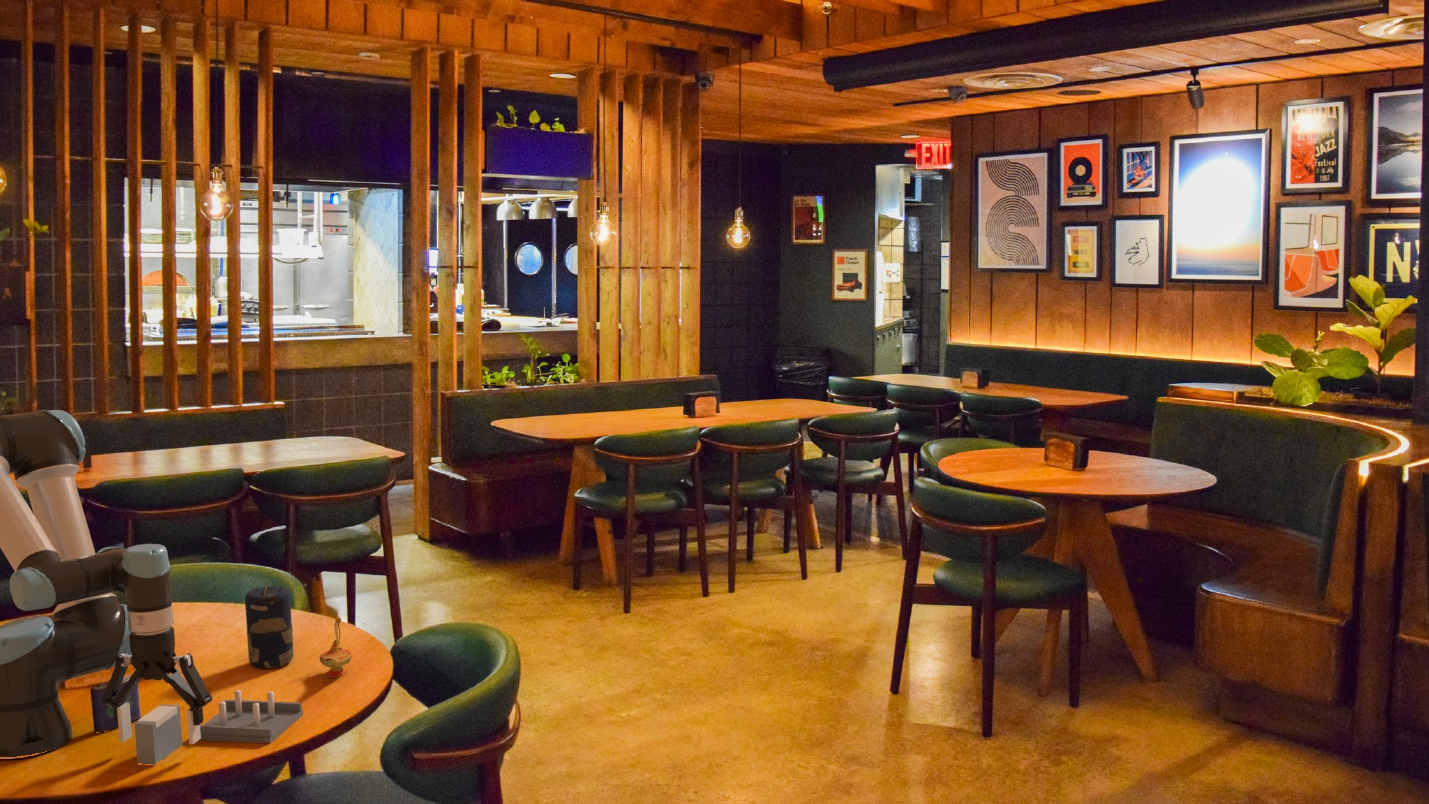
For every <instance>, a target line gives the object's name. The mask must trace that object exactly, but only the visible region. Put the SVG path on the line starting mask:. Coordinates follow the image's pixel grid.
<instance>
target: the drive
mask: <svg viewBox="0 0 1429 804" xmlns="http://www.w3.org/2000/svg"><path fill="white" fill-rule="evenodd" d="M182 733H183V732H182V721H181V705H179V704H161V705H158V706H157V707H155V708H154V709H152V710H151V711H149V712H147V714H145V715H144V716H141V718H140V719H139V720H138V721H137V722H134V734H135V736H134V737H135V749H136V761H137V762H136V763H137V764H138V763H142V764H154V765H156V763H157V762H160V760H163V759H164V758H165V757H167V755H169V756H170V753H172V752H173V751H174V752H176V751H177V750H178V749H179V747H180V746H181V747H182V746H183V734H182ZM181 747H180V748H181ZM177 748H178V749H177ZM176 749H177V750H176ZM175 750H176V751H175ZM174 752H173V753H174ZM173 753H172V754H173ZM167 758H168V757H167ZM165 759H166V758H165ZM165 759H164V760H165ZM164 760H163V761H164ZM160 763H161V762H160ZM156 766H157V765H156Z"/></svg>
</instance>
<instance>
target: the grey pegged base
mask: <svg viewBox="0 0 1429 804" xmlns="http://www.w3.org/2000/svg"><path fill="white" fill-rule="evenodd" d="M266 696H267V697H266V698H267V700H247V699H242V690H240V689H237V690H234V699H224V701H220V702H218V709H219V712H218V713H217V714H215V715H214V716H213V717H212V718H210V719H209V720H207V722H205V723H204V724H200V733H201V739H199V740H198V741H206V742H207V741H209V742H210V741H211V742H229V741H230V742H233V743H257V744H272V743H273V742H274V741H275V740H276V739H277V738H279V736H280V735H282V733H284V732H285V731H286V730H287V729H289V728H290V727H291V726H292V725H293V724H294V723H295V722H297V720H299V719H301V717H302V716H303V715H304V709H303V703H302V702H294V701H293V702H291V701H275V698H274V696H275V694H274V691H272V690H271V691H267V693H266ZM230 742H229V743H230Z"/></svg>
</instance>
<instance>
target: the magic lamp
mask: <svg viewBox="0 0 1429 804" xmlns="http://www.w3.org/2000/svg"><path fill="white" fill-rule="evenodd" d="M341 622H342V618H341V616H337V617H335V622H334V624H333V626H334V632H335V639H334V640H333V642H332V643H331V644H332V645H331V646H330V649H329V650H327V651H324V652H323V653H321V654H320V655H319V662H320V664H322V665H323V666H324V667H327V668H330V669H329V670H328V671H326V672H325V673H324V677H326V678H330V677H336V678H341V677H344V676H347V675H348V674H349V672H350V671H349V670H347V669H345V668H343V666H345V665H347V664H349V663H350V661H351V660H352V659H353V654H352V652H351V651H350V650H348V649H345V648H344V649H343V648H342V646H341V633H342V632H341V627H340V623H341Z"/></svg>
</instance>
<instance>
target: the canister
mask: <svg viewBox="0 0 1429 804" xmlns="http://www.w3.org/2000/svg"><path fill="white" fill-rule="evenodd" d="M290 595H291V594H290V591H289V589H288V588H286V587H283V586H280V585H279V586H278V585H271V586H270V585H266V586H261V587H257V588H253V589H251V590H248V592H247V593H246V594H245V596H244V597H245V598H244V600H245V601H244V602H245V603H244V605H245V618H246V636H247V637H246V639H247V651H248V652H247V653H248V661H249V664H250V665H251V666H252V667H254V668H257V669H259V668H260V669H272V668H278V667H281V666H285V665H287V664H289V663H291V661H292V660H293V659H294V641H293V640H294V636H293V631H294V629H293V621H292V620H293V619H292V607H291V606H292V605H291V596H290Z"/></svg>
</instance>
